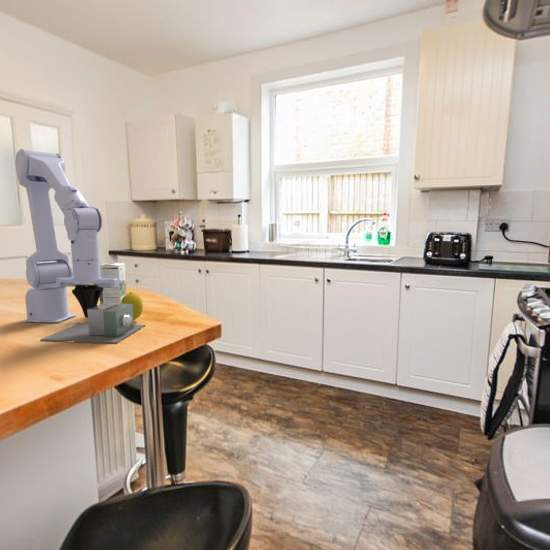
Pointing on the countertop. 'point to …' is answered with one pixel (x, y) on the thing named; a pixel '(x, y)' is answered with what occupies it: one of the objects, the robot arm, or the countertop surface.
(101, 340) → the mat
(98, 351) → the countertop surface
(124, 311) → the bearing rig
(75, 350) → the countertop surface
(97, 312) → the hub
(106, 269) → the syrup box
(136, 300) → the lemon
